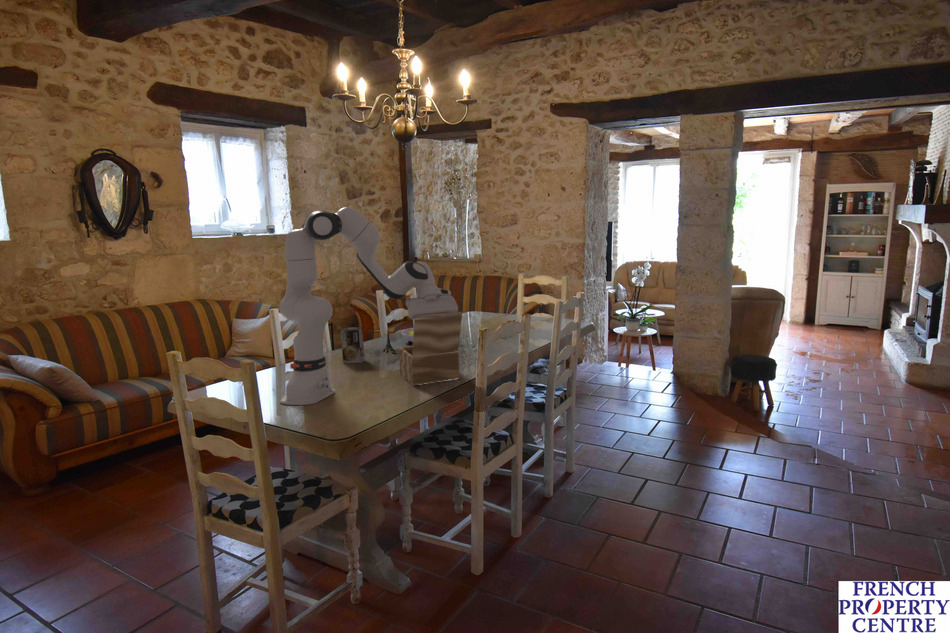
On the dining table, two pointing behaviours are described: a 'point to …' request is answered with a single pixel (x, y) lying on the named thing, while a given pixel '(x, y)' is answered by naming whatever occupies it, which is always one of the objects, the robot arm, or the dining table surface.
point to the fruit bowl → (408, 334)
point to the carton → (428, 366)
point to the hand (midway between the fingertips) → (437, 324)
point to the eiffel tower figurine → (388, 346)
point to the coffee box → (352, 345)
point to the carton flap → (436, 333)
